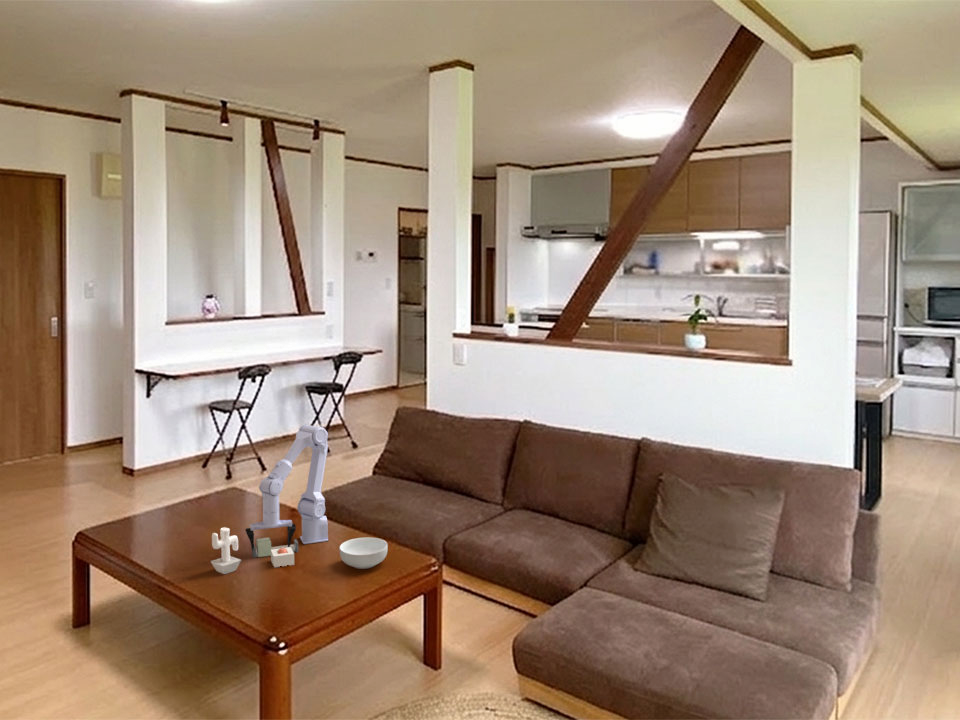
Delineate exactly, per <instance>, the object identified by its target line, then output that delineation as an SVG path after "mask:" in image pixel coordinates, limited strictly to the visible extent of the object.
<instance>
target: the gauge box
mask: <svg viewBox="0 0 960 720" xmlns="http://www.w3.org/2000/svg"><path fill="white" fill-rule="evenodd" d="M280 549H282V548H280ZM285 549H286V552H287V553H282V554H278V550H279V549H273V550H271V556H270V562H271V564H272V566H274V567H273V568H280V566H282V567H287V565H289V566H295V552H293V550H292V548H291V547H288V548H285Z"/></svg>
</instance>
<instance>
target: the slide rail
mask: <svg viewBox="0 0 960 720" xmlns="http://www.w3.org/2000/svg"><path fill="white" fill-rule="evenodd" d="M288 547H291V548H292V550H293V552H294V553H299V541H298V539H297V538H295V539H293V544H292V543H291V544H290V546H288V545H287V544H286V545H278V546H271V550H273V549H280V548H288ZM251 556H252V558H253V559H254V558H255V559H256V558H257V557H258V550H257V548H256V545H255V544H254V548H253V550H252V549H251ZM258 558H259V557H258Z"/></svg>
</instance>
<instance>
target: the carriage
mask: <svg viewBox="0 0 960 720" xmlns="http://www.w3.org/2000/svg"><path fill="white" fill-rule="evenodd" d="M255 541H256V542H255V544H256V545H255V547H256V549H257V550H258V558H262V557H269V556H270V557H271V547H272V540H271V538H270V537H262V538H256V540H255Z"/></svg>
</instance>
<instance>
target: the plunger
mask: <svg viewBox="0 0 960 720" xmlns="http://www.w3.org/2000/svg"><path fill="white" fill-rule="evenodd" d="M282 553H287V552H286V549H285V548H282V549H279V550H278V554H282Z"/></svg>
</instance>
